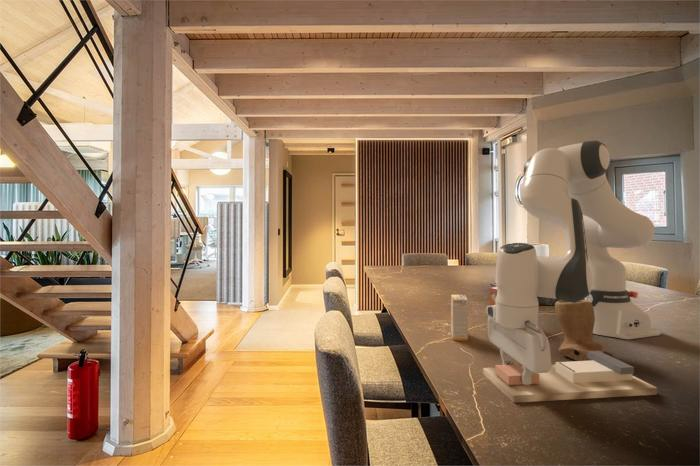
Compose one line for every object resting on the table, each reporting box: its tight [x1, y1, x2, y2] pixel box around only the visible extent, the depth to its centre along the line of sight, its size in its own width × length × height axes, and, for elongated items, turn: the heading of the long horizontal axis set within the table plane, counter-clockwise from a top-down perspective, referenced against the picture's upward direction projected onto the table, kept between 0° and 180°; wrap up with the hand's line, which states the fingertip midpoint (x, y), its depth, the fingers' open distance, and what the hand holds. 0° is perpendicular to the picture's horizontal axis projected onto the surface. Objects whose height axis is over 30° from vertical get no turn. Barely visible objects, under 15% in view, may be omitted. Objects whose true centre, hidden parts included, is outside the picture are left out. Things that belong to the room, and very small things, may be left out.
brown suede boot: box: [554, 299, 605, 361], centre depth 101 cm, size 15×12×15 cm
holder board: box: [482, 364, 658, 403], centre depth 83 cm, size 32×14×2 cm, turn 95°
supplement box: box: [450, 294, 469, 342], centre depth 117 cm, size 8×5×13 cm, turn 168°
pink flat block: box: [495, 363, 539, 385], centre depth 82 cm, size 7×6×2 cm
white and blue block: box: [555, 351, 635, 383], centre depth 83 cm, size 14×10×4 cm
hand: (516, 375), depth 82 cm, fingers closed on pink flat block, 6 cm apart
